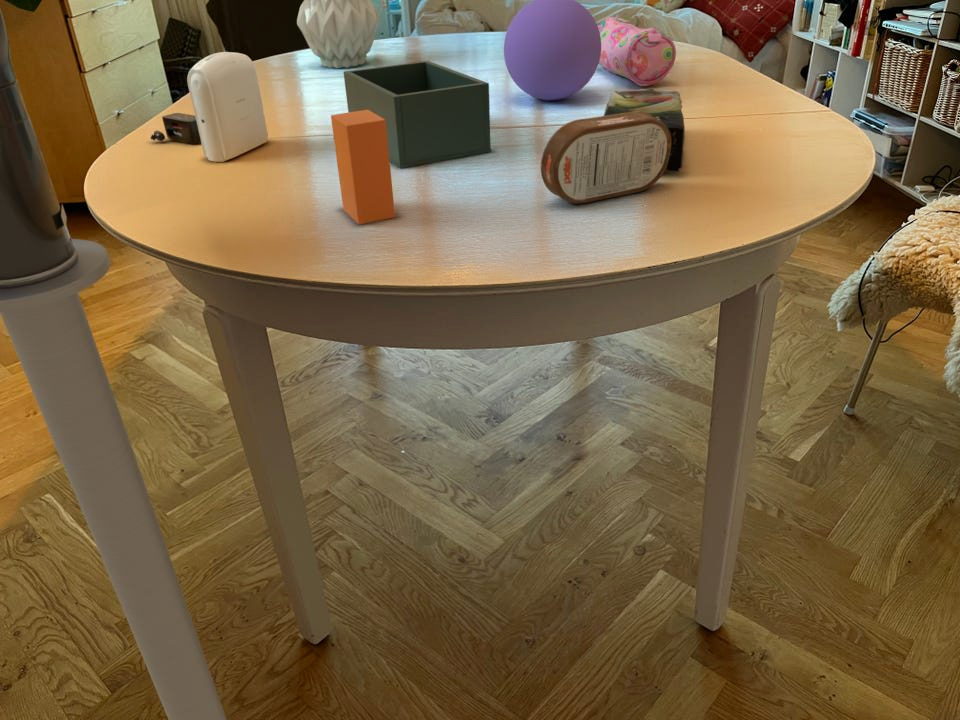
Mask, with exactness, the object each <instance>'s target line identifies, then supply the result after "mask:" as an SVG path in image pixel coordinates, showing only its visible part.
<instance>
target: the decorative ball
mask: <svg viewBox="0 0 960 720" xmlns="http://www.w3.org/2000/svg"><path fill="white" fill-rule="evenodd" d="M509 23H510V24H509V26H508V27H507V30H506V33H505V38H504V42H503V57H504V63H505V67H506V69H507V72H508V74H509V76H510V78H511V79H512V81H513V82H514V84H515V85H516V86H517V87H518V88H519V89H520V90H521V91H523V92H524V93H525V94H526V95H529V96H531V97H532V98H535V99H539V100H542V101H559V100H564V99H567V98H569V97H571V96H574V95H575V94H577V93H578V92H580V91H581V90H582V89H583V88H584V87H586V86H587V85H588V84H589V82H590V81H591V79H592V78H593V76H594V75H595V73H596V71H597V69H598V66H599V60H600V55H601V37H600V32H599V29H598V23H597V21H596V20H595V18H594V17H593V15H592V14H591V12H590V11H589V10H588V9H587V8H586V7H585V6H584V5H583V4H582V3H580V2H578V1H577V0H532V1H530V2H528V3H526V4H525V5H524V6H523V7H522V8H520V9H519V10H518V12H517V13H516V14H515V15H514V17H513V18H512V19H511V22H509Z"/></svg>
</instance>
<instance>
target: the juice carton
mask: <svg viewBox="0 0 960 720" xmlns="http://www.w3.org/2000/svg"><path fill="white" fill-rule="evenodd" d="M634 111H641V112H645V113H648V114H649V115H651V116H652V117H654V118H656V119H658V120H659V121H661V122H662V123H663V124H664V125H665V126H666V127H667V128H668V130H669V132H670V135H673V134H674V135H673V136H674V138H673V140H674V144H673V145H672V148H673V149H672V150H671V151H672V152H671V153H670V157H669V160H668V164H667V167H666V169H665V171H666V170H667V171H670V172H680V170H679V169H681V168H683V163H684V147H685V146H684V145H685V131H686V129H685V128H686V125H685V119H684V118H685V117H684V114H683V100H682V99H681V94H680V92H679V91H676V90H669V89H668V90H667V89H666V90H655V89H653V88H647V89H643V88H642V89H639V90H622V91H621V90H620V91H619V90H618V91H617V90H611V92H610V93H609V98H608V100H607V104H606V107H605V109H604V114H603V116H607V115H614V114H621V113H627V112H634Z"/></svg>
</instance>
